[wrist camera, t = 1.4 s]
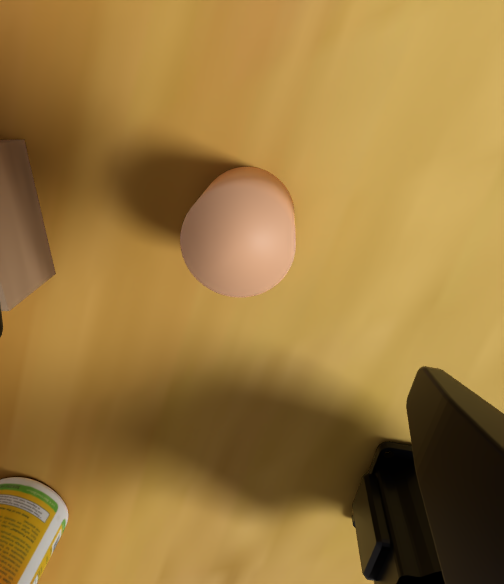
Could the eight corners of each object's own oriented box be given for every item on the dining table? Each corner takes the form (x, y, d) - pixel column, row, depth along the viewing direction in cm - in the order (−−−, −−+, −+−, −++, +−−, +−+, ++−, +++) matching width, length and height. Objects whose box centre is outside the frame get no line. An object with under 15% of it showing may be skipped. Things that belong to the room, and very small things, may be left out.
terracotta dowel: (302, 175, 18) (306, 197, 14) (285, 264, 19) (284, 305, 16) (206, 159, 18) (185, 177, 14) (196, 250, 19) (176, 287, 16)
